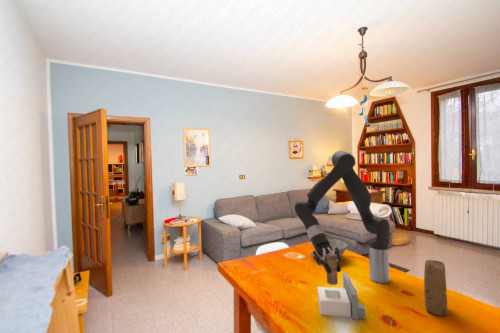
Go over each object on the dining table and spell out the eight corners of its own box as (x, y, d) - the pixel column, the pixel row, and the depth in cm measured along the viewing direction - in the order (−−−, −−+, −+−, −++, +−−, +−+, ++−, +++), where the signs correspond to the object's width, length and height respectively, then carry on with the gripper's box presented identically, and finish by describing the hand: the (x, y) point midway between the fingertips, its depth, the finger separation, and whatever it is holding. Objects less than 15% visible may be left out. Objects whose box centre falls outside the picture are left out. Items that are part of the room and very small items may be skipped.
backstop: (343, 293, 117) (342, 273, 117) (354, 294, 116) (353, 273, 116) (352, 319, 97) (352, 294, 97) (366, 320, 96) (365, 295, 96)
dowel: (326, 279, 109) (325, 253, 109) (336, 280, 108) (335, 253, 108) (327, 284, 104) (326, 256, 104) (338, 285, 103) (337, 257, 104)
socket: (318, 299, 113) (317, 286, 113) (345, 301, 111) (344, 288, 111) (320, 315, 101) (320, 300, 101) (351, 317, 99) (350, 302, 99)
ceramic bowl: (342, 252, 172) (341, 238, 172) (352, 265, 149) (352, 249, 149) (310, 252, 174) (309, 238, 174) (315, 265, 151) (315, 249, 152)
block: (447, 319, 95) (446, 268, 95) (424, 312, 100) (422, 264, 100) (447, 306, 104) (445, 260, 104) (425, 301, 109) (424, 256, 109)
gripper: (307, 234, 111) (324, 271, 99) (333, 230, 116) (352, 265, 104) (301, 242, 116) (317, 278, 104) (326, 239, 121) (344, 273, 109)
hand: (334, 272), depth 104 cm, fingers closed on dowel, 4 cm apart
